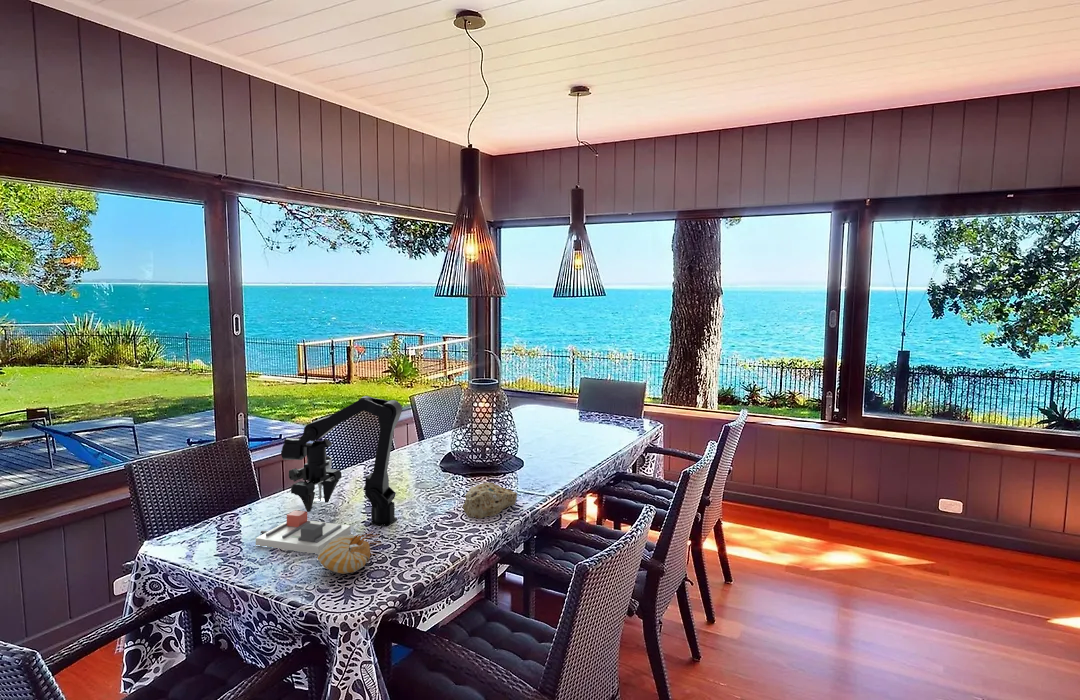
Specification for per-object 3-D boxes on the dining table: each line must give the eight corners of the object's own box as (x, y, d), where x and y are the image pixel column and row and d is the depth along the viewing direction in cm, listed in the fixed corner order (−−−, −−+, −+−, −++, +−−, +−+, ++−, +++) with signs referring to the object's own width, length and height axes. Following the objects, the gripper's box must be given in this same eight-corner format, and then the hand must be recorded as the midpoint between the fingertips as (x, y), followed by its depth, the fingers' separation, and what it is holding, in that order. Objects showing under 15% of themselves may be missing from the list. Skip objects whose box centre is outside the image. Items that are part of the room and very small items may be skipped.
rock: (483, 499, 216) (490, 473, 216) (517, 515, 210) (524, 489, 209) (451, 511, 198) (459, 483, 197) (487, 529, 192) (495, 500, 191)
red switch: (307, 522, 184) (307, 511, 184) (299, 527, 180) (298, 516, 180) (295, 521, 185) (295, 510, 185) (286, 525, 181) (286, 514, 181)
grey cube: (322, 536, 173) (322, 524, 173) (314, 542, 170) (313, 530, 169) (309, 534, 174) (309, 523, 174) (300, 540, 171) (300, 528, 170)
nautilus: (366, 546, 174) (403, 561, 166) (302, 570, 156) (340, 588, 148) (368, 520, 174) (405, 534, 166) (304, 540, 156) (342, 557, 148)
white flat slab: (350, 533, 182) (350, 523, 182) (318, 554, 167) (318, 543, 167) (278, 524, 189) (278, 514, 189) (241, 544, 174) (241, 533, 174)
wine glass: (307, 504, 207) (306, 462, 205) (309, 497, 214) (308, 456, 213) (331, 502, 209) (330, 461, 207) (333, 495, 216) (332, 455, 215)
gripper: (313, 450, 202) (314, 495, 203) (275, 465, 184) (276, 514, 185) (341, 453, 199) (342, 498, 200) (306, 468, 181) (307, 518, 182)
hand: (317, 507), depth 192 cm, fingers open, 9 cm apart
